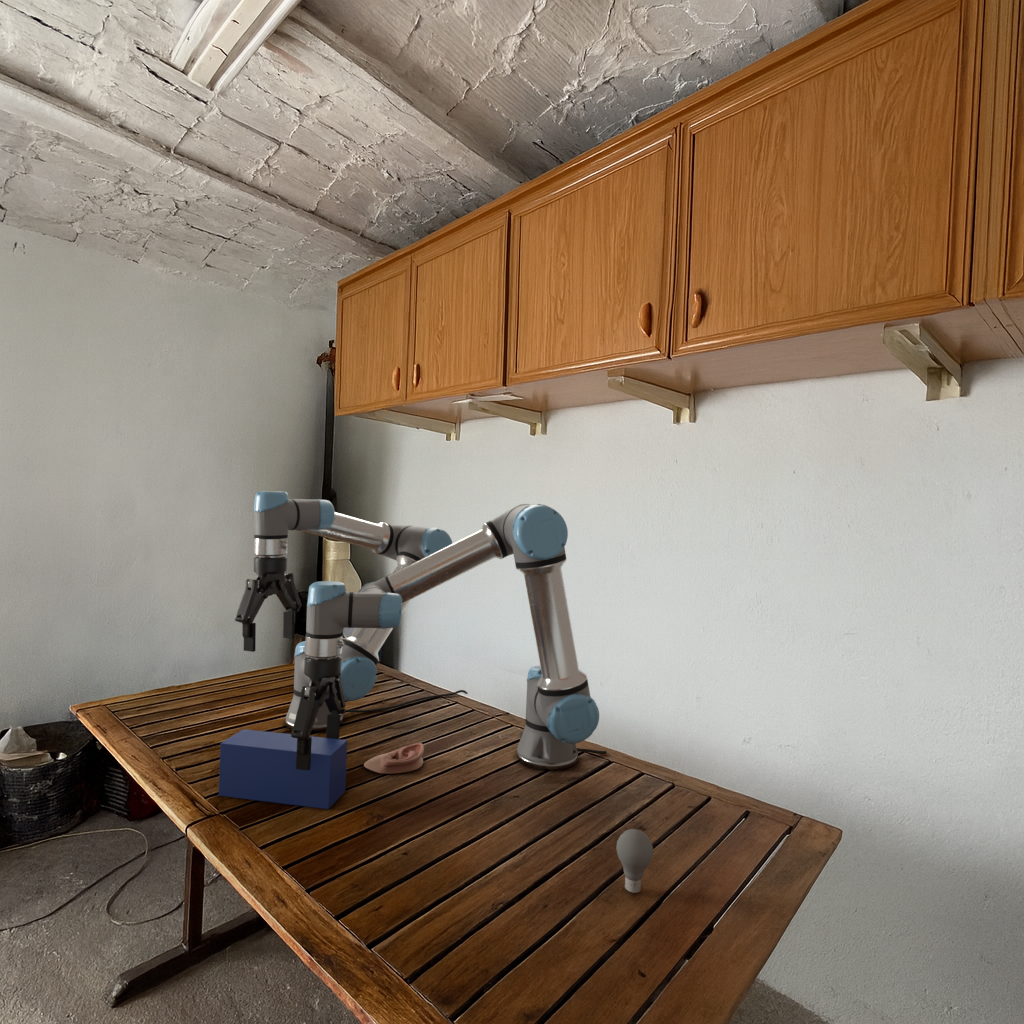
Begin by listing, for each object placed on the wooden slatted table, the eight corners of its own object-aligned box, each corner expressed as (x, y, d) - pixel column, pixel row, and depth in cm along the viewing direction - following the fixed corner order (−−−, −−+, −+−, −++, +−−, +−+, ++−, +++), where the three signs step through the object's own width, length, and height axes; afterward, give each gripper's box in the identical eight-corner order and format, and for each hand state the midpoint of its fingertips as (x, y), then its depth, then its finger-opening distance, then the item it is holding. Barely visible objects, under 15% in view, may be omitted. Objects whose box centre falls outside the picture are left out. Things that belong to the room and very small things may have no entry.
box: (218, 795, 132) (220, 743, 132) (241, 778, 141) (243, 729, 140) (328, 809, 129) (330, 755, 128) (345, 790, 137) (347, 740, 137)
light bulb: (610, 879, 108) (613, 822, 108) (644, 879, 109) (647, 822, 109) (619, 902, 102) (622, 840, 102) (655, 901, 103) (658, 840, 103)
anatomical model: (358, 753, 147) (378, 735, 158) (357, 770, 147) (378, 751, 158) (412, 760, 144) (429, 742, 155) (412, 778, 144) (428, 758, 155)
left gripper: (245, 562, 138) (244, 658, 139) (316, 552, 161) (315, 634, 162) (218, 560, 140) (217, 655, 141) (292, 550, 164) (291, 631, 165)
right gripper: (312, 672, 120) (307, 783, 120) (363, 644, 145) (358, 736, 145) (276, 668, 121) (270, 778, 121) (332, 641, 146) (327, 733, 146)
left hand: (269, 644), depth 152 cm, fingers open, 13 cm apart
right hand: (318, 756), depth 133 cm, fingers open, 13 cm apart
